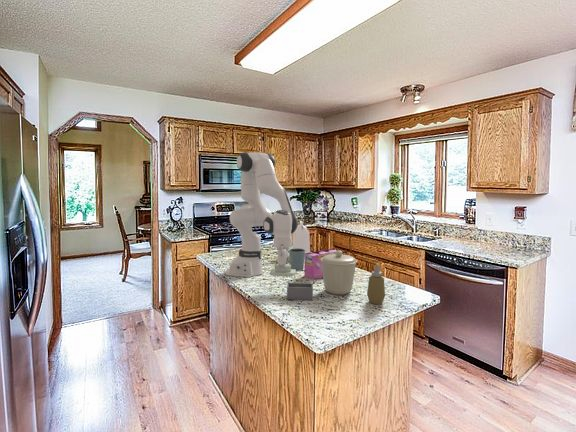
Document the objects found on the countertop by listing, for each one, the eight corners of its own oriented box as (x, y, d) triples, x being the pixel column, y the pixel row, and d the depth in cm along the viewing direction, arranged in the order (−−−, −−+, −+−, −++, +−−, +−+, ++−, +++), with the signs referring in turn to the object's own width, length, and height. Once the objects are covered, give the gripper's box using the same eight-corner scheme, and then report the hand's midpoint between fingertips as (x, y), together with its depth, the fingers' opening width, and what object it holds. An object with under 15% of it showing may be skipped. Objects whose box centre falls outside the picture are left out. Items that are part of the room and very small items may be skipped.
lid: (269, 276, 165) (269, 267, 165) (271, 272, 173) (271, 263, 172) (295, 276, 165) (295, 267, 164) (295, 272, 172) (295, 263, 172)
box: (287, 299, 157) (287, 287, 157) (287, 294, 164) (287, 282, 164) (312, 300, 157) (312, 288, 156) (312, 295, 164) (312, 283, 163)
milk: (291, 255, 247) (292, 220, 244) (307, 255, 248) (307, 220, 246) (294, 259, 235) (294, 222, 232) (310, 259, 237) (310, 222, 234)
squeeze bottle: (364, 299, 158) (365, 262, 156) (381, 299, 159) (382, 262, 157) (370, 306, 150) (371, 266, 148) (387, 305, 151) (389, 266, 149)
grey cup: (287, 269, 209) (287, 251, 207) (290, 265, 218) (291, 247, 217) (303, 271, 206) (303, 252, 205) (306, 266, 216) (306, 248, 215)
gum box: (333, 269, 211) (333, 248, 209) (342, 272, 204) (343, 250, 203) (304, 275, 196) (304, 253, 195) (312, 279, 190) (313, 255, 189)
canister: (318, 285, 179) (319, 246, 176) (353, 286, 178) (354, 247, 176) (321, 297, 161) (322, 254, 158) (359, 298, 160) (360, 254, 158)
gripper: (288, 247, 157) (288, 276, 158) (290, 239, 177) (290, 265, 178) (274, 247, 157) (274, 275, 158) (278, 239, 177) (278, 265, 179)
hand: (282, 270), depth 168 cm, fingers closed on lid, 3 cm apart
